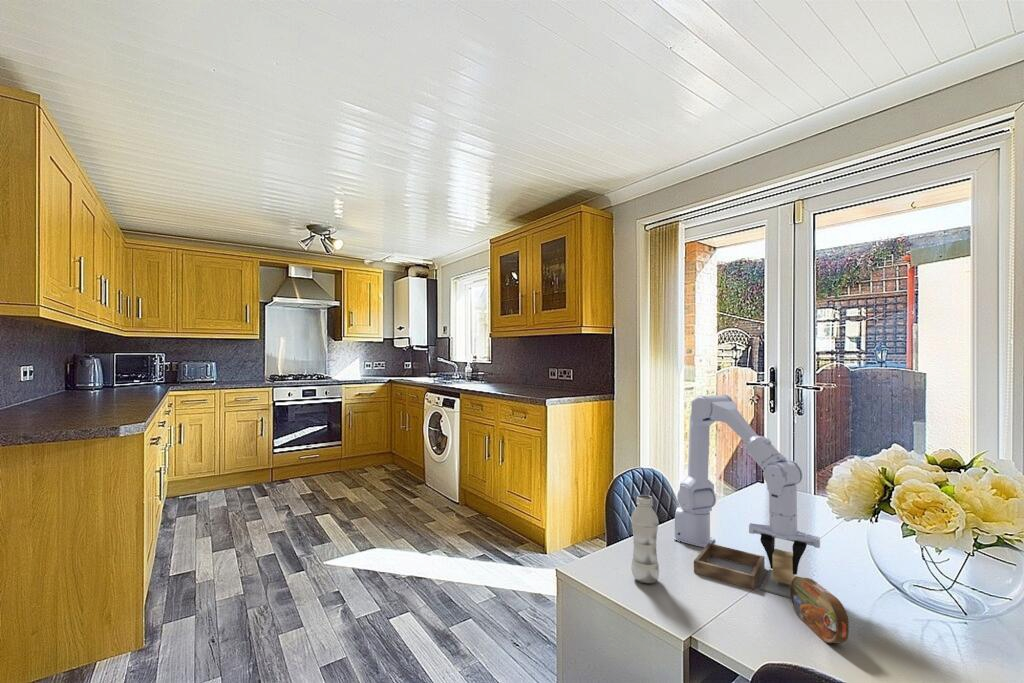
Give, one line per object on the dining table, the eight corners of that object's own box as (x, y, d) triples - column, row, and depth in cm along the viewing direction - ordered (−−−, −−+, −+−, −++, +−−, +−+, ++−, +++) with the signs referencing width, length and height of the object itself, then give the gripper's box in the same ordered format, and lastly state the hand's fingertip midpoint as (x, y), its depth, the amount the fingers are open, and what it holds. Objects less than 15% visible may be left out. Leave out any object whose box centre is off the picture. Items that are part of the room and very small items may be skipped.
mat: (760, 589, 108) (760, 588, 108) (769, 570, 117) (769, 569, 117) (800, 601, 103) (800, 599, 103) (806, 580, 112) (806, 578, 112)
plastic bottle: (645, 589, 108) (644, 503, 108) (625, 577, 114) (625, 495, 114) (665, 583, 111) (664, 499, 111) (645, 571, 117) (644, 491, 117)
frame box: (693, 572, 116) (693, 560, 116) (708, 554, 127) (708, 543, 127) (754, 589, 108) (753, 576, 108) (764, 568, 118) (764, 556, 118)
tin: (789, 608, 100) (788, 569, 100) (803, 608, 100) (803, 569, 100) (835, 653, 85) (834, 607, 85) (853, 654, 85) (852, 607, 85)
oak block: (772, 580, 109) (772, 554, 109) (775, 573, 112) (775, 548, 113) (792, 585, 107) (792, 558, 107) (794, 578, 110) (794, 553, 110)
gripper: (746, 510, 112) (746, 567, 111) (817, 524, 103) (818, 586, 102) (751, 503, 117) (752, 557, 117) (820, 515, 108) (821, 574, 108)
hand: (783, 570), depth 110 cm, fingers closed on oak block, 4 cm apart
